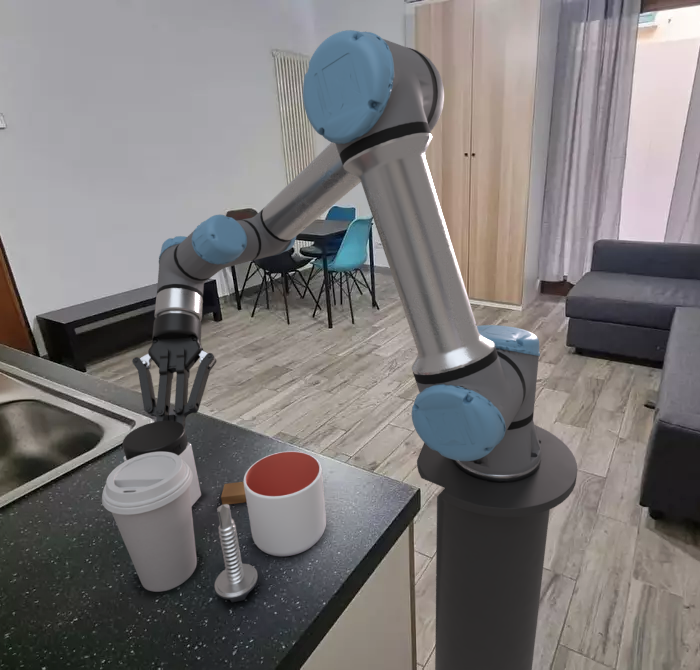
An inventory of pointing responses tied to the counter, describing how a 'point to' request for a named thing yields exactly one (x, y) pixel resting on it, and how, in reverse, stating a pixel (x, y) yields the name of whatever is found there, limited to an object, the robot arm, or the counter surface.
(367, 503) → the counter surface
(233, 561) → the screw
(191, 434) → the counter surface
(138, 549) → the coffee cup
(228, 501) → the brown wooden bar
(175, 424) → the jar
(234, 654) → the counter surface
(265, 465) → the cup
